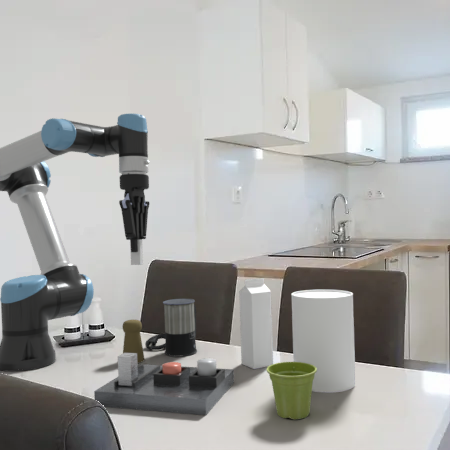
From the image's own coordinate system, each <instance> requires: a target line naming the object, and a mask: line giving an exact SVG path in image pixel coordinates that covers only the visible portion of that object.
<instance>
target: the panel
mask: <svg viewBox="0 0 450 450" xmlns="http://www.w3.org/2000/svg"><path fill="white" fill-rule="evenodd" d="M162 365H163V364H162ZM162 365H161V364H160V365H158V364H142V363H141V364H140V363H138V380H136V381H135V382H133V383H132V386H126V385H119V381H118V376H117V377H115V378H113V379H112V380H111V381H108V382H107V383H106V384H103V385H102V386H100V387H99V388H97V389H96V390H94V392H93V393H94V396H93V397H94V401H95V400H97V401H99V402H100V403H101V404H102V405H104V406H105V407H104V408H116V409H118V408H119V409H125V410H127V409H128V410H141V411H153V412H165V413H178V414H186V415H188V414H189V415H200V416H202V415H203V416H207V415H208V414H209V412H210V411H211V410H212V409H213V407H215V406H216V404H218V402H219V401H220V399H222V397H223V396H224V395H225V394H226V393H227V392H228V390H230V388H231V386H233V385H234V384H235V371H234V370H235V369H234V368H219V367H218V368H217V367H216V371H217V375H216V376H215V377H210V376H198V369H197V366H196V367H195V366H181V373H180V374H178V375H176V374H163V368H162Z"/></svg>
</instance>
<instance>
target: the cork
mask: <svg viewBox="0 0 450 450" xmlns="http://www.w3.org/2000/svg"><path fill="white" fill-rule="evenodd" d="M142 329H143V323H142V322H141V320H139V319H127V320H125V321H123V322H122V330H123V333H124V335H123V336H124V338H123V346H122V347H123V348H122V354H123V353H137V363H138V364H140V363H143V362H144V361H145V354H144V348H143V342H142V336H141V335H142V334H141V331H142Z"/></svg>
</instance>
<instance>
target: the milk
mask: <svg viewBox="0 0 450 450" xmlns="http://www.w3.org/2000/svg"><path fill="white" fill-rule="evenodd" d="M238 293H239V296H238V297H239V323H240V326H239V328H240V356H241V357H240V358H241V359H240V360H241V361H240V362H241V365H242V366H246V367H248V368H249V369H252V370H258V369H262V368H267V367H268V366H270V365H272V364H274V348H273V347H274V345H273V344H274V343H273V316H272V315H273V312H272V309H273V308H272V291H271V289H270V288H269V287H268V286H267V285H266V284H265V278H264V277H262V278H261V277H260V278H252V279H251V278H250V279H245V280H244V286H243V287H242V288H241V289H240V290H239V292H238Z"/></svg>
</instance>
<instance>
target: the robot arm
mask: <svg viewBox="0 0 450 450" xmlns="http://www.w3.org/2000/svg"><path fill="white" fill-rule="evenodd" d="M147 123H148V122H147V118H146V117H145V116H144V115H143V114H140V113H122V114H120V115H119V116H118V117H117V122H116V125H112V126H100V125H95V124H89V123H88V124H87V123H84V122H78V121H74V120H69V119H66V118H54V117H53V118H50V119H47V120H46V121H45V123H44V124H43V125H42V127H41V130H39V131H37V132H35V133H33V134H30V135H27V136H25V137H23V138H20V139H18V140H16V141H14V142H11V143H9V144H7V145H4V146H2V147H0V192H7V195H8V198H9V201H11V202H12V203H14V204H16V205H17V207H18V210H19V214H20V215H21V218H22V221H23V222H22V223H23V224H24V227H25V230H26V234H27V235H28V238H29V241H30V244H31V248H32V250H33V252H34V256H35V258H36V262H37V265H38V266H39V269H40V270H39V271H40V274H33V275H32V274H31V275H26V276H19V277H15V278H12V279H9V280H7V281H5V282H4V283H3V284H2V285H1V287H0V289H1V290H0V309H1V339H0V340H1V341H0V371H3V372H4V371H5V372H20V371H30V370H35V369H40V368H44V367H47V366H49V365H51V364H54V363H55V362H56V361H57V360H56V359H57V358H56V356H57V353H56V349H54V346H53V342H52V340H51V337H50V335H49V321H51V320H56V319H61V318H65V317H74V316H76V315H79V314H83V313H84V312H86V311H87V310H89V308H90V306H91V305H92V302H93V299H94V285H93V281H92V280H91V278H90V277H89V276H87V275H86V274H83V273H80V271H79V269H78V266H77V264H74V263H72V262H70V259H69V257H68V254H67V251H66V248H65V246H64V242H63V241H62V238H61V234H60V233H59V230H58V226H57V224H56V222H55V218H54V216H53V214H52V211H51V207H50V205H49V202H48V199H47V197H46V195H47V194H48V192H49V187H50V185H51V179H50V178H51V176H52V174H51V171H50V168H49V165H48V164H47V163H46V161H48V160H50V159H53V158H56V157H59V156H62V155H65V154H68V153H70V152H71V153H72V152H73V153H81V154H88V155H89V156H90V157H95V158H97V157H98V158H99V157H100V158H104V157H108V156H114V155H118V172H119V174H120V175H119V188H120V190H122V191H124V194H123V197H124V199H120V200H119V202H118V204H119V206H120V211H121V215H122V222H123V229H124V236H125V240H128V241H130V242H129V245H130V266H139V265H140V266H141V265H144V259H143V258H144V257H143V255H144V254H143V240H147V230H148V229H147V228H148V215H149V214H148V213H149V207H150V201H146V195H145V190H148V189H150V178H149V175H148V173H149V164H150V161H149V154H148V152H149V151H148V138H149V137H148V125H147Z"/></svg>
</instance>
